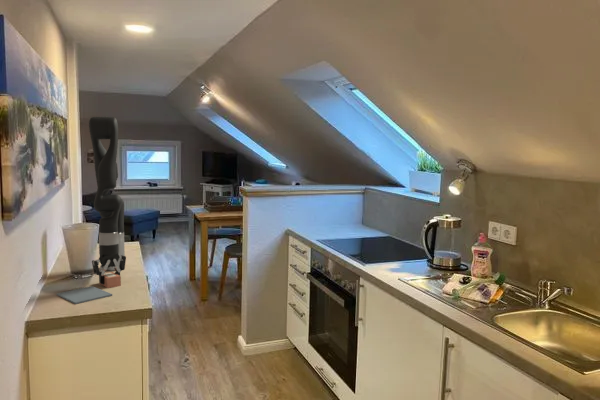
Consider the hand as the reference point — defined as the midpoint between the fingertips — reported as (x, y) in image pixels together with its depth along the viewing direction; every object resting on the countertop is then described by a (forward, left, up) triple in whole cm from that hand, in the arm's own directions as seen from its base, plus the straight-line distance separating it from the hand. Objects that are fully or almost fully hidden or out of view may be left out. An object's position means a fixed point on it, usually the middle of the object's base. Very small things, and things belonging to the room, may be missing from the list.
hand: (109, 282), depth 195 cm
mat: (+7, -14, -1) cm, 16 cm away
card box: (0, 0, -1) cm, 1 cm away
